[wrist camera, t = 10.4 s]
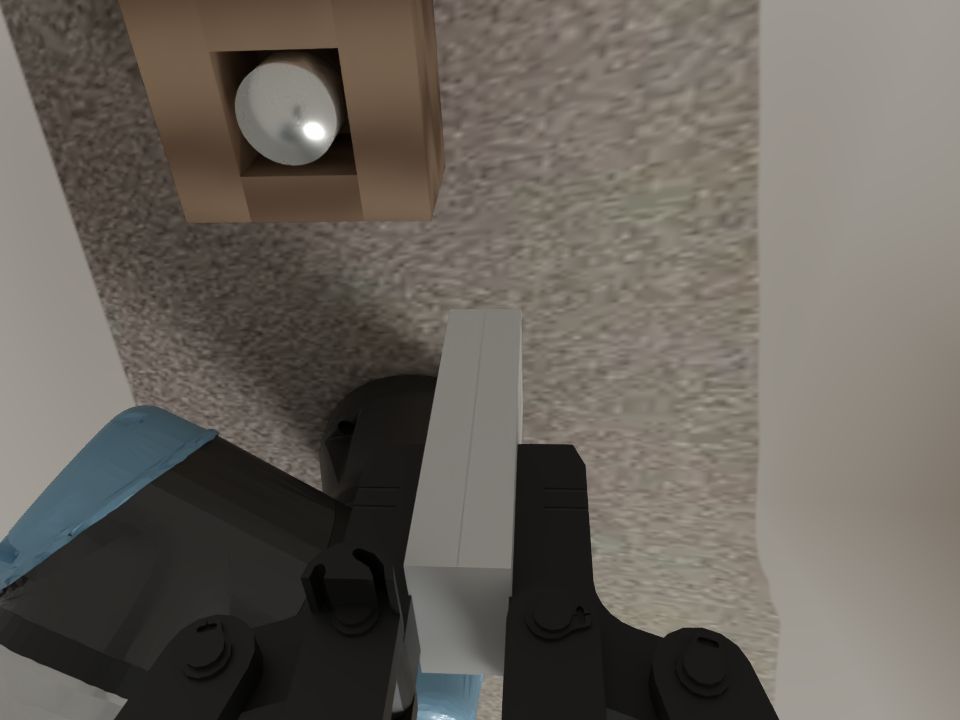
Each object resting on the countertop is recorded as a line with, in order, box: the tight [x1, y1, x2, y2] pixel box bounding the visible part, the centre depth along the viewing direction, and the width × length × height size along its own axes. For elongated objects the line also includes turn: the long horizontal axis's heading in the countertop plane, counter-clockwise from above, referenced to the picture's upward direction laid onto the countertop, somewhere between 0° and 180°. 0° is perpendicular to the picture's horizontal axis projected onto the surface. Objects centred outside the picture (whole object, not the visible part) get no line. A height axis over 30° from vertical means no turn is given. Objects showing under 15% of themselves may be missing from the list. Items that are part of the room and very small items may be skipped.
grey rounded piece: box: [235, 48, 348, 165], centre depth 37 cm, size 5×5×6 cm
